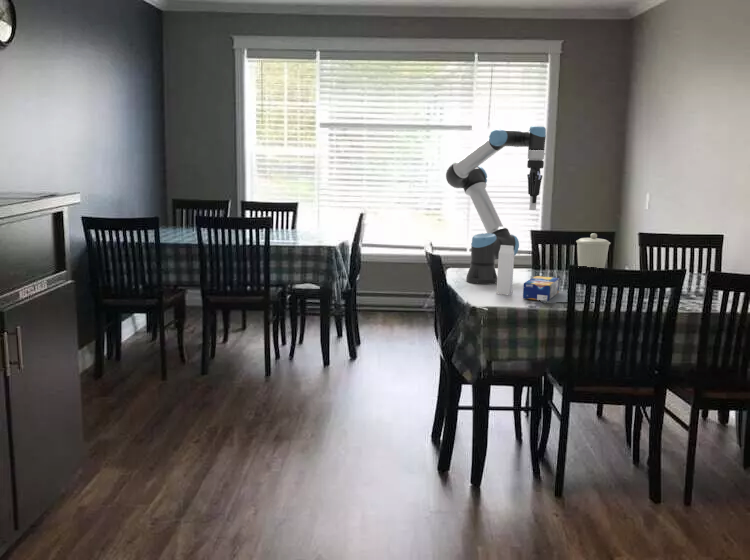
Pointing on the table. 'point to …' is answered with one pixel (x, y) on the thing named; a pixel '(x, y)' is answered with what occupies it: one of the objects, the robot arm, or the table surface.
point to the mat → (558, 297)
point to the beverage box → (541, 288)
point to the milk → (505, 269)
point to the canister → (592, 251)
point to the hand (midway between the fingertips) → (532, 209)
